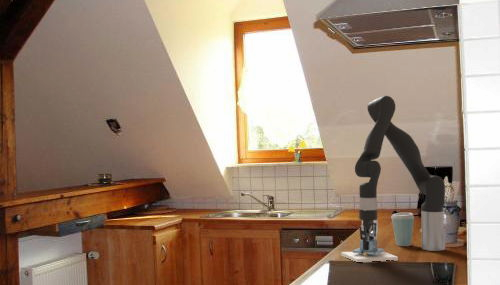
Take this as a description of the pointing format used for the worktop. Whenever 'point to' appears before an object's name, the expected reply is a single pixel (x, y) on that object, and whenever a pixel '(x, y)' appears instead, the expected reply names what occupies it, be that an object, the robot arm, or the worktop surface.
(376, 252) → the flange
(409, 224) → the disposable coffee cup
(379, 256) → the post base
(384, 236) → the worktop surface
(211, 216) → the worktop surface
